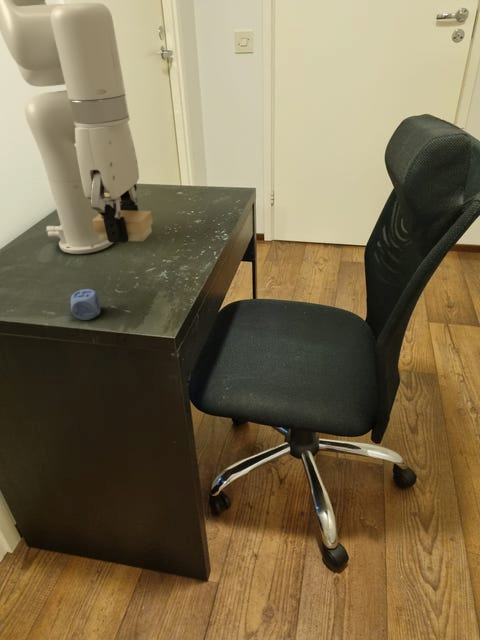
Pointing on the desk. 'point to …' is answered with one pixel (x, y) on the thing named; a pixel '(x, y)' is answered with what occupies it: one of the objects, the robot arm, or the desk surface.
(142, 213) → the tan rectangular brick
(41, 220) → the desk surface
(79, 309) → the decorative dice
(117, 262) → the desk surface
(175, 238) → the desk surface
